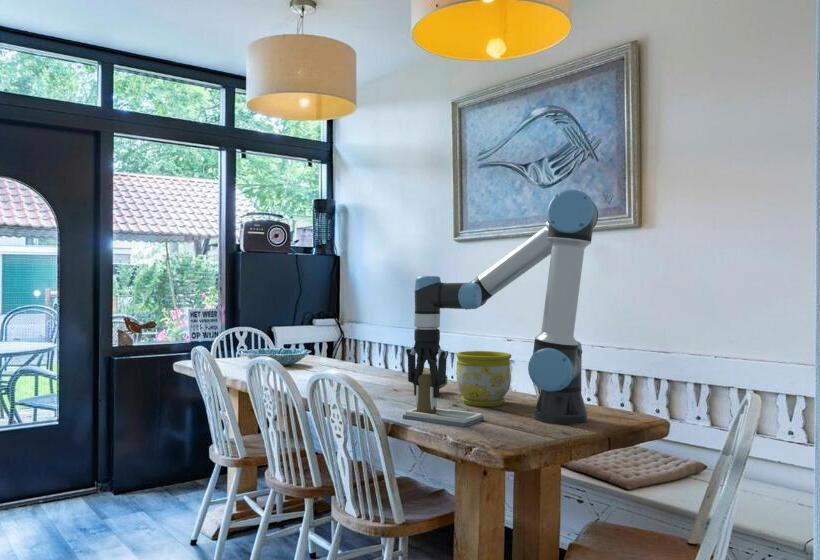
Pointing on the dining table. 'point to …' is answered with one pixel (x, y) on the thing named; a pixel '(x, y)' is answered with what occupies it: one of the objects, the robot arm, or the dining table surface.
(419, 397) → the cork
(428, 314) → the robot arm
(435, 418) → the grey shallow tray
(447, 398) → the dining table surface
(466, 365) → the flowerpot
